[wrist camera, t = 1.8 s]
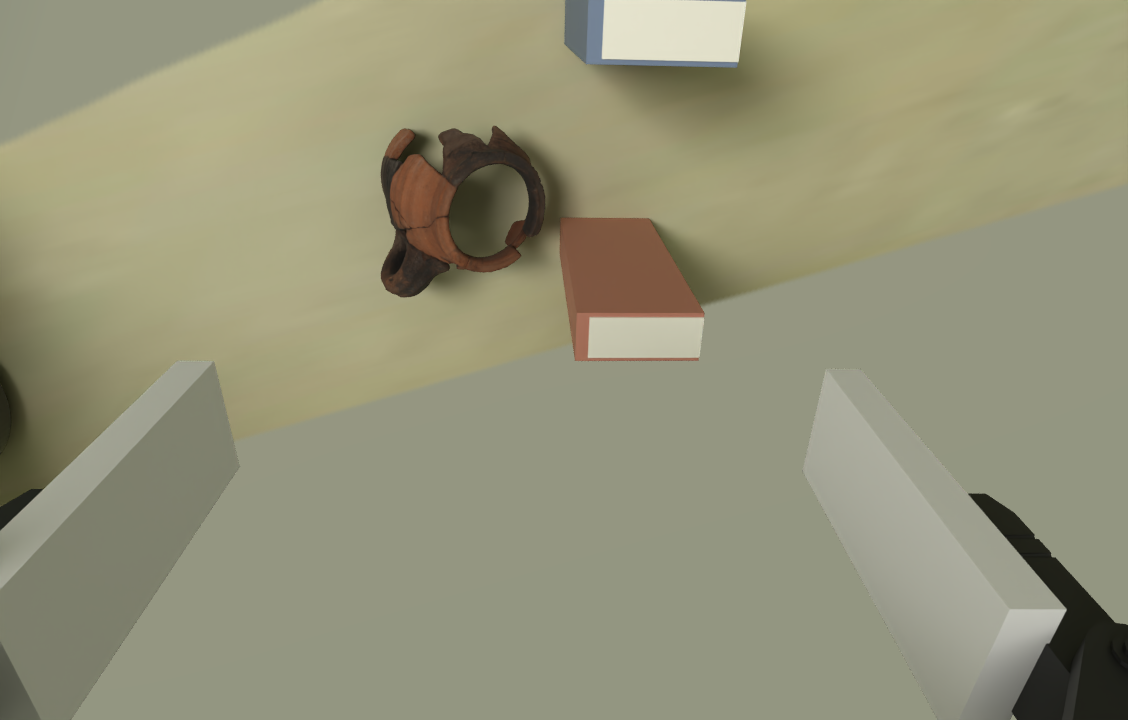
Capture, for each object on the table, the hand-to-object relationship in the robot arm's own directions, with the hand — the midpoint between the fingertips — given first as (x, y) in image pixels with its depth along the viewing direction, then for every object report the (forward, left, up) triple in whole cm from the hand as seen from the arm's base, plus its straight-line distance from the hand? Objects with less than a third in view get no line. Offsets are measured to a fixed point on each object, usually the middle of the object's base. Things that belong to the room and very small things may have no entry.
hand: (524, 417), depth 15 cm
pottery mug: (-7, -3, -33) cm, 34 cm away
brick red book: (+5, -6, -32) cm, 33 cm away
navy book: (+5, +7, -32) cm, 33 cm away
